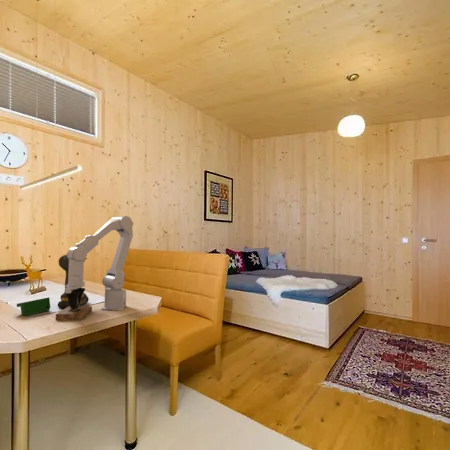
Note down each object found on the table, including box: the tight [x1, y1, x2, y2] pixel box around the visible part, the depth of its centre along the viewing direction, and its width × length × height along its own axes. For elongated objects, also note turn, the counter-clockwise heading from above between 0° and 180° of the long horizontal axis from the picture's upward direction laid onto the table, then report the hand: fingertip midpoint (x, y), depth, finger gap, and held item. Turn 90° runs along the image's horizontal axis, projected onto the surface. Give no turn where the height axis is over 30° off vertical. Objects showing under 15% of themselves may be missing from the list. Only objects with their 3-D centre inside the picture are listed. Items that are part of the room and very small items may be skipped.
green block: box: [16, 297, 51, 317], centre depth 129 cm, size 12×6×9 cm, turn 147°
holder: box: [55, 305, 93, 321], centre depth 126 cm, size 10×12×2 cm
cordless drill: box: [57, 254, 89, 309], centre depth 145 cm, size 9×20×25 cm, turn 174°
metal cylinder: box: [71, 300, 78, 312], centre depth 126 cm, size 3×3×8 cm
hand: (74, 306), depth 126 cm, fingers closed on metal cylinder, 3 cm apart
